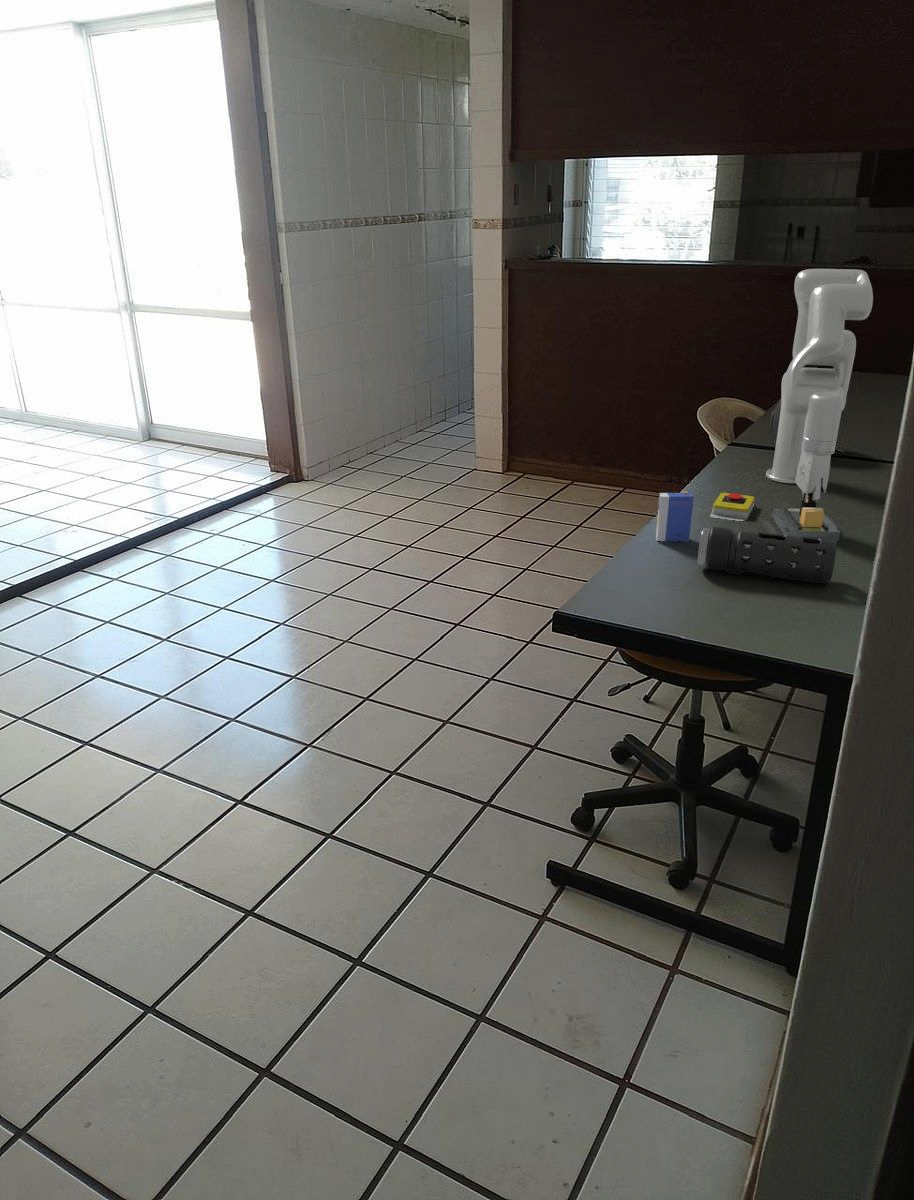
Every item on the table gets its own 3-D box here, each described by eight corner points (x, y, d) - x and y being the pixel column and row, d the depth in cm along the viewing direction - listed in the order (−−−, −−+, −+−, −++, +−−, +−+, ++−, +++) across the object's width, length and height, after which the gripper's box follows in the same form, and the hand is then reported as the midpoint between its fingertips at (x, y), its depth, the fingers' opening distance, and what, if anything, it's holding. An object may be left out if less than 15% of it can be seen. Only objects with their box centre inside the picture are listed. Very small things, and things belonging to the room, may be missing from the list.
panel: (771, 517, 234) (773, 506, 232) (818, 518, 233) (820, 507, 232) (788, 541, 219) (790, 529, 218) (838, 541, 219) (840, 529, 217)
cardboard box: (799, 522, 223) (802, 506, 221) (817, 522, 222) (820, 506, 221) (803, 527, 220) (806, 510, 218) (821, 527, 220) (824, 510, 218)
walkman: (686, 537, 222) (691, 491, 217) (688, 541, 220) (693, 495, 214) (654, 537, 222) (658, 491, 217) (656, 542, 220) (660, 495, 215)
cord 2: (822, 521, 231) (822, 516, 231) (827, 521, 231) (828, 516, 231) (832, 532, 224) (832, 527, 223) (837, 532, 224) (838, 527, 223)
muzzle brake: (829, 593, 193) (837, 548, 188) (695, 577, 201) (700, 533, 197) (828, 575, 201) (836, 532, 197) (699, 561, 209) (704, 519, 205)
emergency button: (757, 490, 242) (747, 508, 229) (755, 506, 243) (745, 524, 231) (722, 486, 245) (710, 503, 233) (720, 501, 247) (708, 519, 235)
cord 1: (762, 526, 228) (763, 520, 228) (768, 526, 228) (769, 521, 228) (777, 547, 216) (778, 541, 215) (783, 547, 216) (784, 541, 215)
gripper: (794, 436, 223) (783, 506, 231) (811, 453, 210) (799, 527, 218) (824, 436, 223) (812, 506, 231) (844, 454, 209) (831, 527, 217)
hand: (806, 516), depth 224 cm, fingers closed
